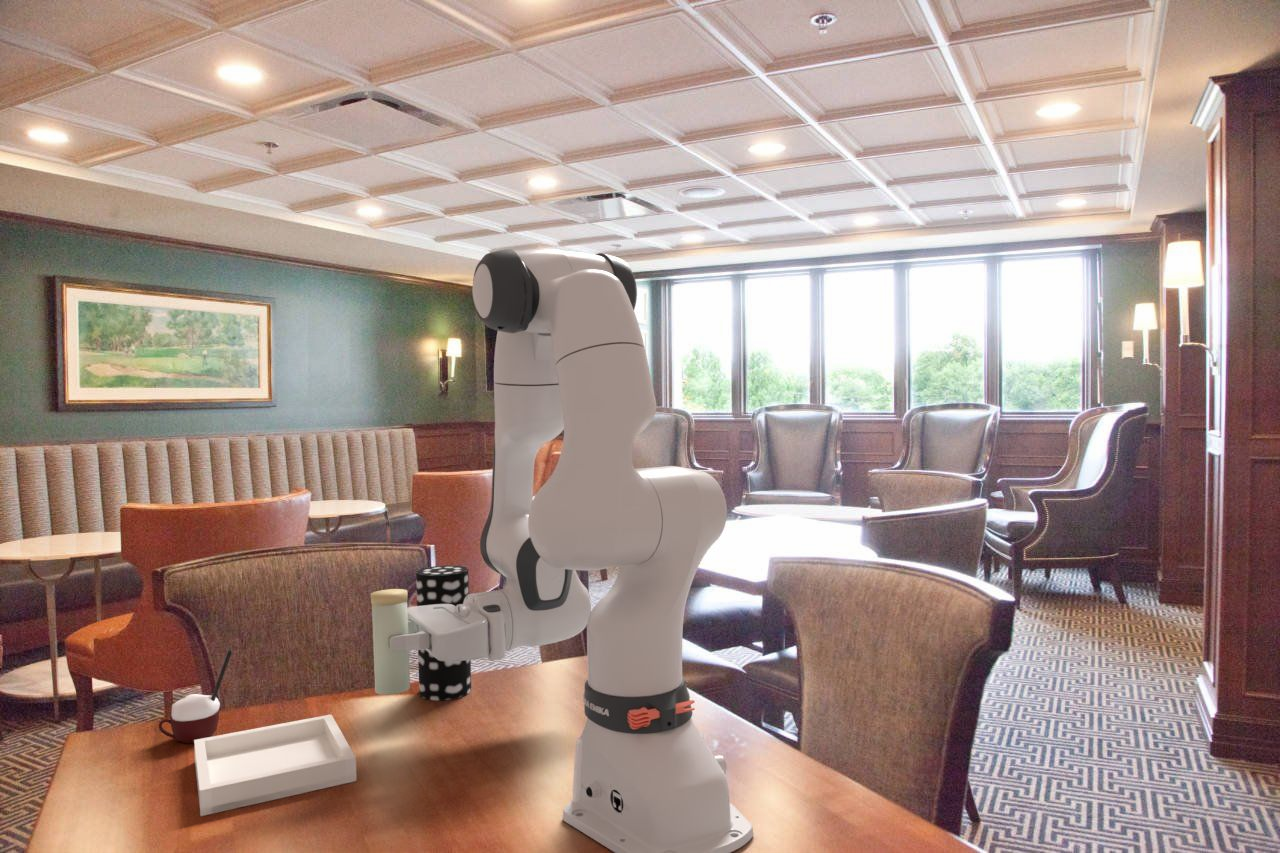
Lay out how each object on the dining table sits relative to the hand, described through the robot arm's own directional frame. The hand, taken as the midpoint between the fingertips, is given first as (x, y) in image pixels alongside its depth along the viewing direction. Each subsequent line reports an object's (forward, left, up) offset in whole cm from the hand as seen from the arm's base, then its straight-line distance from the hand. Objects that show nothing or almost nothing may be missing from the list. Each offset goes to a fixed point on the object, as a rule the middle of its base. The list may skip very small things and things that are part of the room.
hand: (384, 638), depth 115 cm
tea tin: (0, -1, -7) cm, 7 cm away
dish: (+1, +14, -15) cm, 21 cm away
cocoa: (+19, +22, -16) cm, 33 cm away
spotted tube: (+19, -14, -16) cm, 28 cm away
